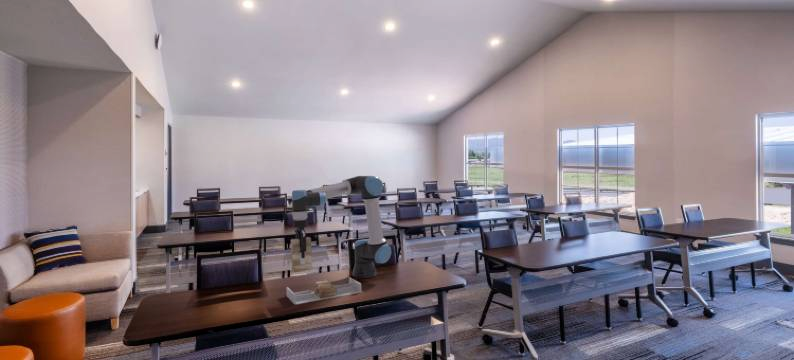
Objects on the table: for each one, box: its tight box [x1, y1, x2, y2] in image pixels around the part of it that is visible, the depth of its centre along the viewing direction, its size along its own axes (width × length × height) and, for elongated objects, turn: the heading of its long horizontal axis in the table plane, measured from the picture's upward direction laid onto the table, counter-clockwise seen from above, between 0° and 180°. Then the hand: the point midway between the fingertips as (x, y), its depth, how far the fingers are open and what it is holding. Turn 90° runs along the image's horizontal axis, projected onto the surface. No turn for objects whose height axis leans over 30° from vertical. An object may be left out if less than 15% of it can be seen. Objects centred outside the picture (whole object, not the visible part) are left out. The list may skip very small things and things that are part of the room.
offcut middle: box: [314, 285, 336, 295], centre depth 235 cm, size 11×7×2 cm
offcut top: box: [315, 280, 332, 290], centre depth 235 cm, size 9×6×2 cm
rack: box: [286, 276, 362, 305], centre depth 235 cm, size 16×37×6 cm, turn 118°
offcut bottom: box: [313, 288, 335, 298], centre depth 235 cm, size 12×8×2 cm, turn 28°
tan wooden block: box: [290, 236, 313, 273], centre depth 229 cm, size 4×10×17 cm, turn 118°
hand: (301, 263), depth 229 cm, fingers closed on tan wooden block, 3 cm apart
